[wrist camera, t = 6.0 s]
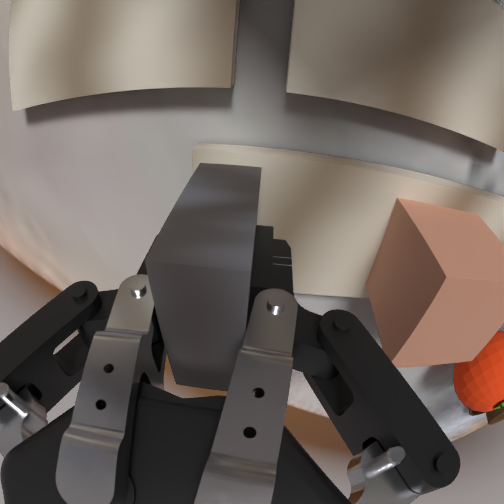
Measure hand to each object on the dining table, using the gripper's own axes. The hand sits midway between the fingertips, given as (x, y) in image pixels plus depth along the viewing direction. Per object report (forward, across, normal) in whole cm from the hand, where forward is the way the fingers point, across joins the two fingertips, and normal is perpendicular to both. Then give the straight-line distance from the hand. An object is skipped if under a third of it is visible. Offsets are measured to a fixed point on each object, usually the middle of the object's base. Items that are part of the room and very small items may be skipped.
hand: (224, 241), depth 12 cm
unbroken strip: (+2, -10, 0) cm, 11 cm away
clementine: (+2, -22, +10) cm, 24 cm away
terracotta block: (+1, -10, 0) cm, 10 cm away
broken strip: (+2, -1, -10) cm, 10 cm away
